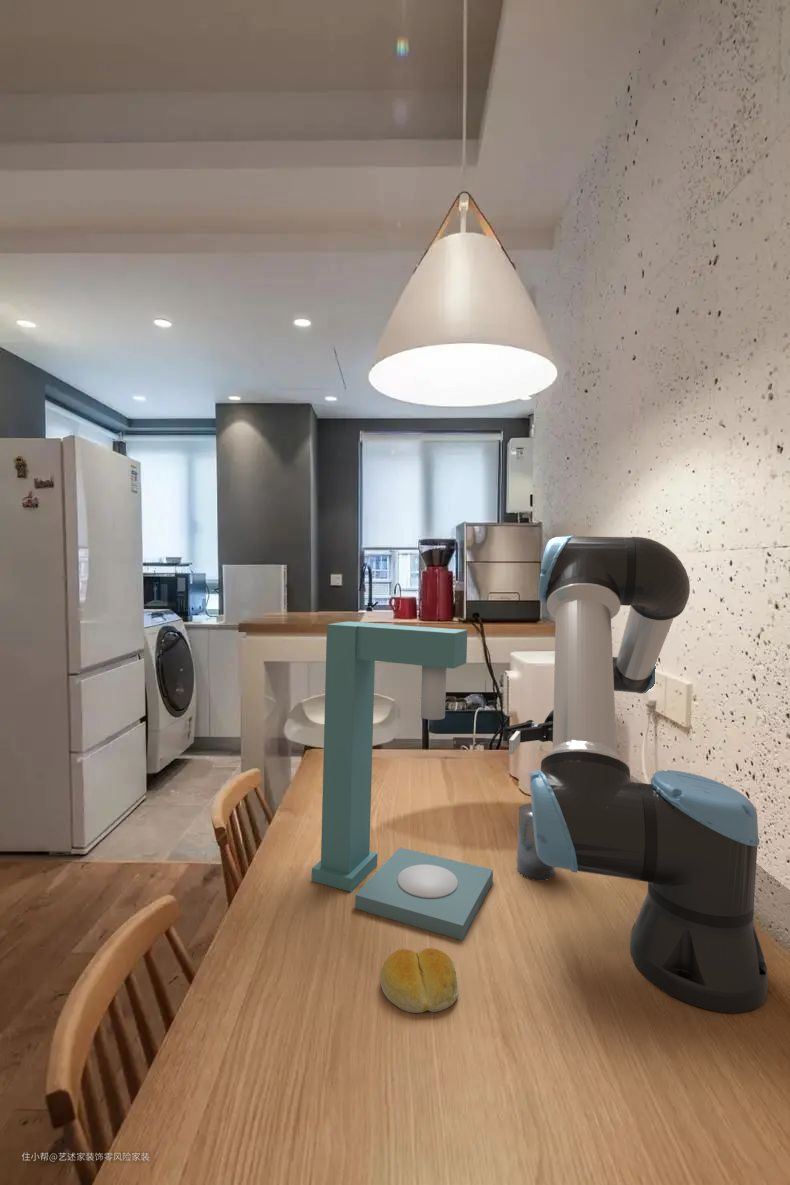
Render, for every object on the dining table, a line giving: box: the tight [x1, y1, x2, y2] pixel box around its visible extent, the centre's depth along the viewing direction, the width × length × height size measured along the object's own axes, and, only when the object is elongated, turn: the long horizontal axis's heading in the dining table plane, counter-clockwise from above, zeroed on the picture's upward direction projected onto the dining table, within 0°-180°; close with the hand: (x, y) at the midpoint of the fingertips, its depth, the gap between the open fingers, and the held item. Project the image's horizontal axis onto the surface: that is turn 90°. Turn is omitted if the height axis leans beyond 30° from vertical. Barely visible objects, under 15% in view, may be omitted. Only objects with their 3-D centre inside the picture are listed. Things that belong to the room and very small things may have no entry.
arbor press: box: [311, 621, 494, 941], centre depth 87 cm, size 26×16×40 cm, turn 66°
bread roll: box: [379, 947, 459, 1014], centre depth 67 cm, size 8×9×4 cm
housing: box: [516, 803, 556, 881], centre depth 94 cm, size 6×6×12 cm
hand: (548, 753), depth 103 cm, fingers open, 13 cm apart
